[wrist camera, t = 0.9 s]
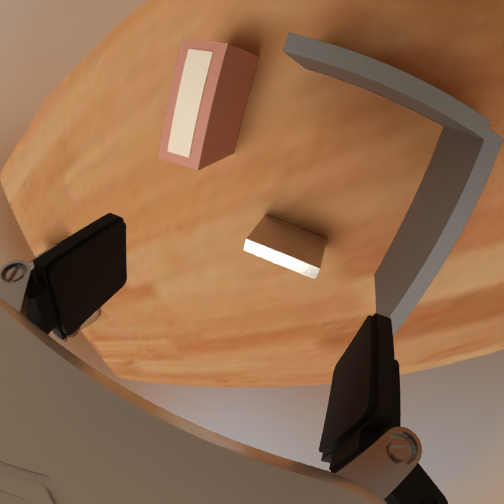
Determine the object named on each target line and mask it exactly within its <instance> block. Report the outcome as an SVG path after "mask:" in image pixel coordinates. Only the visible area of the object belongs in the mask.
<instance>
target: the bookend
mask: <svg viewBox="0 0 504 504" xmlns="http://www.w3.org/2000/svg"><path fill="white" fill-rule="evenodd" d="M326 240H327V239H326V238H323V237H321V236H319V235H316V234H314V233H311V232H309V231H306V230H304V229H301V228H299V227H296V226H294V225H291V224H289V223H286V222H284V221H281V220H278V219H276V218H273V217H271V216H268V215H264V217H263V218H262V219H261V220H260V222H259V223H258V224H257V226H256V227H255V228H254V230H253V231H252V232H251V234H250V235H249V236H248V237H247V239H246V242H245V245H244V249H243V250H244V251H247V252H249V253H252V254H254V255H256V256H259V257H261V258H264V259H266V260H269V261H271V262H274V263H276V264H279V265H281V266H283V267H286V268H288V269H291V270H293V271H296V272H298V273H301V274H303V275H306V276H308V277H311V278H313V279H315V278H316V276H317V274H318V272H319V270H320V267H321V263H322V258H323V254H324V249H325V245H326Z"/></svg>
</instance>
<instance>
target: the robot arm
mask: <svg viewBox="0 0 504 504" xmlns="http://www.w3.org/2000/svg"><path fill="white" fill-rule="evenodd" d="M33 263H34V268H33V269H31V267H30V265H29V264H28V263H27V262H25V261H21V260H17V261H12V262H9V263H7V264H6V265H4V266H3V267H2V268H1V269H0V504H448V502H447V500H446V498H445V496H444V495H443V494H442V492H441V491H440V490H439V489H438V487H437V486H436V485H435V484H434V483H433V481H432V480H431V479H430V477H429V476H428V475H427V473H426V472H425V471H424V470H423V468H422V467H421V466H420V465H419V463H418V462H419V460H420V458H421V454H422V446H421V443H420V440H419V438H418V437H417V435H416V434H415V433H414V432H412V431H411V430H409V429H407V428H405V427H400V378H399V377H400V376H399V364H398V361H397V360H395V359H394V344H393V331H392V321H391V318H389V317H386V316H383V315H380V314H378V313H375V314H374V315H373V316H370V315H369V316H368V317H367V318H366V320H365V321H364V323H363V325H362V326H361V328H360V329H359V331H358V333H357V334H356V336H355V337H354V339H353V340H352V342H351V343H350V345H349V346H348V348H347V349H346V351H345V352H344V354H343V355H342V357H341V358H340V360H339V361H338V363H337V364H336V366H335V369H334V373H333V379H332V385H331V392H330V397H329V403H328V409H327V413H326V418H325V423H324V429H323V433H322V438H321V442H320V447H319V451H320V452H322V453H323V455H322V461H324V462H329V463H330V468H329V469H330V470H331V472H329V471H326V470H322V469H319V468H316V467H313V466H309V465H306V464H303V463H299V462H296V461H292V460H289V459H286V458H283V457H279V456H277V455H274V454H271V453H268V452H265V451H262V450H259V449H256V448H253V447H251V446H248V445H245V444H242V443H240V442H237V441H235V440H232V439H229V438H227V437H224V436H222V435H219V434H217V433H215V432H212V431H210V430H207V429H205V428H203V427H201V426H198V425H196V424H194V423H192V422H190V421H187V420H185V419H183V418H181V417H179V416H177V415H175V414H173V413H171V412H169V411H167V410H165V409H163V408H161V407H159V406H157V405H155V404H153V403H151V402H150V401H148V400H146V399H144V398H142V397H141V396H138V395H137V394H135V393H133V392H132V391H130V390H128V389H127V388H125V387H123V386H121V385H120V384H118V383H116V382H115V381H113V380H112V379H110V378H108V377H107V376H105V375H104V374H102V373H101V372H99V371H97V370H96V369H94V368H93V367H91V366H90V365H88V364H87V363H85V362H84V361H82V360H81V359H80V358H78V357H77V356H75V355H74V354H72V353H71V352H70V351H68V350H67V349H65V348H64V347H63V346H61V345H60V344H59V343H57V342H56V341H55V340H53V339H52V338H51V337H50V336H49V333H50V332H51V331H52V330H53V332H54V334H55V335H57V336H58V337H59V338H61V339H62V340H63V339H64V338H65V337H67V336H68V335H72V334H73V333H74V332H75V331H76V330H77V329H78V328H79V327H80V326H81V325H82V324H83V323H84V322H85V321H86V320H87V319H88V318H90V317H91V316H92V315H93V314H94V313H95V312H96V311H97V310H98V309H99V308H100V307H101V306H102V305H103V304H104V303H105V302H106V301H108V300H109V299H110V298H111V297H112V296H113V295H114V294H115V293H116V292H117V291H118V290H119V289H121V288H122V287H123V286H124V284H125V283H126V280H127V270H126V224H125V223H124V220H123V218H121V217H119V216H117V215H114V214H112V213H109V214H106V215H105V216H103V217H101V218H100V219H98V220H96V221H94V222H93V223H91V224H89V225H88V226H86V227H84V228H83V229H81V230H79V231H78V232H76V233H75V234H73V235H71V236H70V237H68V238H67V239H65V240H63V241H62V242H60V243H59V244H57V245H56V246H54V247H53V248H51V249H49V250H48V251H46V252H45V253H43V254H42V255H40V256H39V257H38V258H36V259H35V260H33Z"/></svg>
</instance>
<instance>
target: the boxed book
mask: <svg viewBox="0 0 504 504" xmlns="http://www.w3.org/2000/svg"><path fill="white" fill-rule="evenodd" d="M258 60H259V57H258V56H256V55H254V54H252V53H249V52H247V51H245V50H242V49H240V48H238V47H235V46H233V45H230V44H228V43H221V42H214V41H206V40H198V39H187V38H182V41H181V45H180V49H179V53H178V57H177V61H176V66H175V70H174V74H173V79H172V84H171V88H170V93H169V98H168V103H167V108H166V114H165V119H164V125H163V131H162V137H161V143H160V150H159V156H158V158H160V159H163V160H166V161H170V162H173V163H176V164H179V165H182V166H185V167H188V168H191V169H194V170H197V171H198V170H200V169H202V168H204V167H206V166H208V165H210V164H212V163H214V162H216V161H218V160H221V159H223V158H225V157H227V156H229V155H231V154H233V153H234V149H235V145H236V141H237V137H238V133H239V129H240V126H241V122H242V118H243V114H244V110H245V107H246V103H247V99H248V95H249V92H250V88H251V85H252V81H253V77H254V74H255V70H256V67H257V63H258Z"/></svg>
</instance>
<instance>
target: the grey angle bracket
mask: <svg viewBox="0 0 504 504" xmlns="http://www.w3.org/2000/svg"><path fill="white" fill-rule="evenodd" d="M283 52H284V53H286V54H287V55H288V56H290V57H291V58H292V59H294V60H295V61H296V62H298V63H299V64H300V65H301V66H303V67H304V68H305V69H308V70H312V71H315V72H318V73H321V74H325V75H328V76H331V77H334V78H337V79H339V80H342V81H345V82H348V83H351V84H353V85H356V86H359V87H361V88H364V89H366V90H369V91H371V92H374V93H376V94H378V95H381V96H383V97H385V98H388V99H390V100H392V101H394V102H397V103H399V104H401V105H403V106H405V107H407V108H409V109H411V110H414V111H416V112H418V113H420V114H422V115H423V116H425V117H427V118H429V119H431V120H433V121H435V122H437V123H439V124H440V125H442V126H444V128H443V130H442V133H441V136H440V138H439V141H438V144H437V146H436V149H435V151H434V154H433V156H432V159H431V161H430V164H429V166H428V168H427V171H426V173H425V175H424V178H423V180H422V182H421V184H420V187H419V189H418V191H417V193H416V195H415V198H414V200H413V202H412V204H411V206H410V208H409V210H408V212H407V214H406V216H405V218H404V220H403V222H402V224H401V226H400V228H399V230H398V232H397V234H396V236H395V238H394V240H393V242H392V244H391V246H390V248H389V249H388V251H387V253H386V255H385V257H384V259H383V260H382V262H381V264H380V266H379V268H378V269H377V271H376V273H375V292H376V313H378V314H380V315H383V316H386V317H389V318H391V321H392V331H393V335H394V334H395V333H396V332H397V330H398V329H399V328H400V326H401V325H402V324H403V322H404V321H405V320H406V318H407V317H408V316H409V314H410V313H411V311H412V310H413V309H414V307H415V306H416V304H417V303H418V302H419V300H420V299H421V297H422V296H423V294H424V293H425V291H426V290H427V288H428V287H429V285H430V284H431V282H432V281H433V279H434V278H435V276H436V275H437V273H438V271H439V270H440V268H441V267H442V265H443V263H444V262H445V260H446V258H447V257H448V255H449V253H450V252H451V250H452V248H453V246H454V245H455V243H456V241H457V239H458V238H459V236H460V234H461V232H462V230H463V228H464V227H465V225H466V223H467V221H468V219H469V217H470V215H471V213H472V211H473V209H474V207H475V205H476V203H477V201H478V199H479V197H480V195H481V192H482V190H483V188H484V186H485V184H486V181H487V179H488V177H489V174H490V172H491V170H492V167H493V165H494V162H495V160H496V157H497V155H498V152H499V149H500V147H501V144H502V141H503V138H502V137H501V136H499V135H498V134H497V133H495V132H494V131H492V130H491V129H489V125H490V122H491V121H490V120H489V119H487V118H486V117H484V116H483V115H481V114H480V113H478V112H477V111H475V110H473V109H472V108H470V107H469V106H467V105H466V104H464V103H462V102H461V101H459V100H457V99H456V98H454V97H452V96H450V95H449V94H447V93H445V92H443V91H441V90H440V89H438V88H436V87H434V86H432V85H430V84H428V83H426V82H424V81H422V80H420V79H418V78H416V77H414V76H412V75H410V74H408V73H406V72H404V71H401V70H399V69H397V68H395V67H392V66H390V65H388V64H385V63H383V62H380V61H378V60H375V59H373V58H370V57H368V56H365V55H362V54H360V53H357V52H354V51H351V50H348V49H345V48H342V47H339V46H336V45H333V44H329V43H326V42H323V41H319V40H316V39H312V38H308V37H304V36H300V35H296V34H292V33H289V34H288V37H287V40H286V44H285V47H284V50H283Z"/></svg>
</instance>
